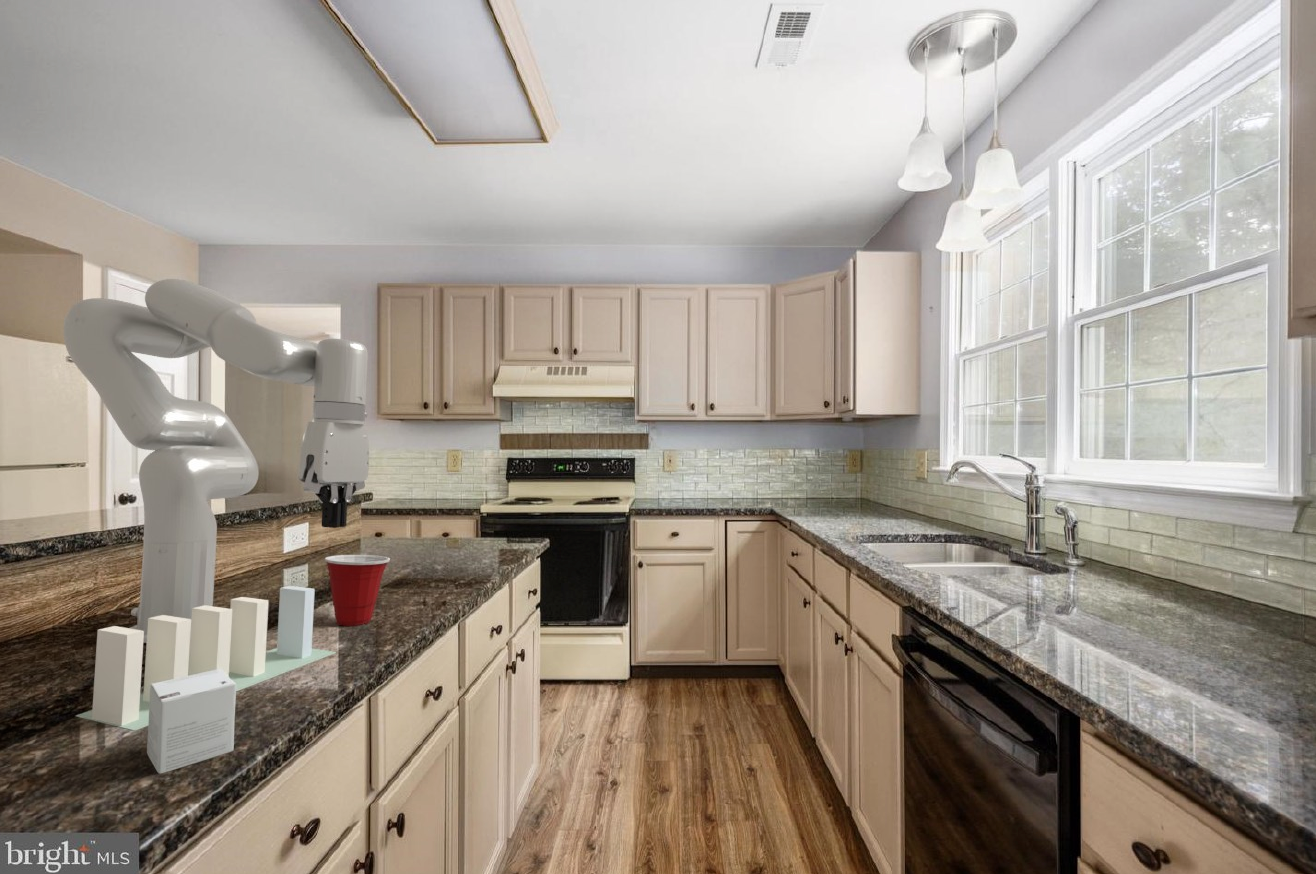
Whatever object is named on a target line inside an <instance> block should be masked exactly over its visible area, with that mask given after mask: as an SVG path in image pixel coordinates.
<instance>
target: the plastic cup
mask: <svg viewBox="0 0 1316 874" xmlns="http://www.w3.org/2000/svg"><path fill="white" fill-rule="evenodd" d="M324 560H325V562H326V564H327V570H328V576H329V581H330V582H329V583H330V591H331V598H332V599H331V600H332V606H333V608H334V609H333V610H334V619H335V621H336V624H337V625H338V626H342V625H343V627H345V626H347V627H348V626H349V627H351V626H352V627H353V626H360V625H364V623H365V624H367V623H370V622H371V620H372V618H373V617H374V611H375V606H376V602H377V599H378V594H379V591H380V586H381V581H382V578H383V575H384V572H385V570H386V566H387V565H388V563H389V562H390V560H391V558H390V557H388V556H383V555H382V556H381V555H372V554H341V555H340V554H338V555H331V556H330V555H329V556H326V557H324Z"/></svg>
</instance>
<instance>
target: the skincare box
mask: <svg viewBox="0 0 1316 874" xmlns="http://www.w3.org/2000/svg"><path fill="white" fill-rule="evenodd" d="M236 698H237V691H236V683H235V682H234V681H232V680H231V679H230V678H229V677H228V676H227V675H226V674H225V673H224V672H223V670H222V669H216V670H212V671H208V672H203V673H199V674H194V675H190V676H185V677H181V678H177V679H172V680H167V681H163V682H158V683H153V684H151V685H150V701H149V723H148V726H147V741H146V742H147V746H146V754H147V756H148V758H149V760H150V762H151V763H152V765H153V766H154V768H155V770H156V772H157V773H158V774H159V775H160V774H163V773H167V772H171V771H173V770H176V769H177V770H178V769H180V768H184V767H186V766H190V765H192V764H197V763H199V762H203V761H206V760H209V759H212V758H215V757H218V756H221V755H224V754H227V753H230V752H233V751H234V750H235V749H234V744H235V719H236V718H235V717H236V716H235V715H236Z"/></svg>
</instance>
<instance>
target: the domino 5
mask: <svg viewBox="0 0 1316 874" xmlns="http://www.w3.org/2000/svg"><path fill="white" fill-rule="evenodd" d="M315 592H316V591H315V588H311V587H304V586H297V585H296V586H293V585H287V586H283V587H280V588H279V603H278V605H279V606H278V619H277V620H278V623H277V641H276V643H277V644H276V648H277V654H279V655H285V656H291V657H297V658H304V657H307V656H310V655H311V652H312V648H313V630H314V612H315V611H314V608H315Z"/></svg>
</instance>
